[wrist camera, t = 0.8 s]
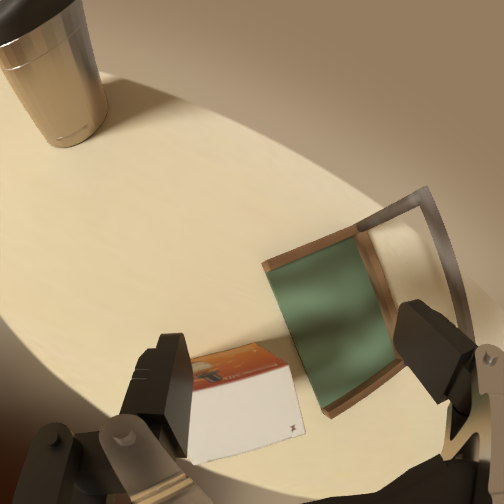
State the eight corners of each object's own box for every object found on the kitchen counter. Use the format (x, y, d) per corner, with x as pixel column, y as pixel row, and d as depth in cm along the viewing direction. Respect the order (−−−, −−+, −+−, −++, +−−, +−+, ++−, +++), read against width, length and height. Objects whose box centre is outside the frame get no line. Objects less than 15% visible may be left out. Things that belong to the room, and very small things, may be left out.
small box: (254, 341, 26) (293, 361, 16) (267, 392, 25) (310, 433, 15) (174, 361, 24) (164, 395, 14) (190, 412, 23) (192, 467, 13)
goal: (261, 262, 28) (314, 228, 16) (353, 225, 31) (427, 185, 19) (323, 414, 26) (393, 459, 14) (401, 360, 29) (479, 371, 17)
